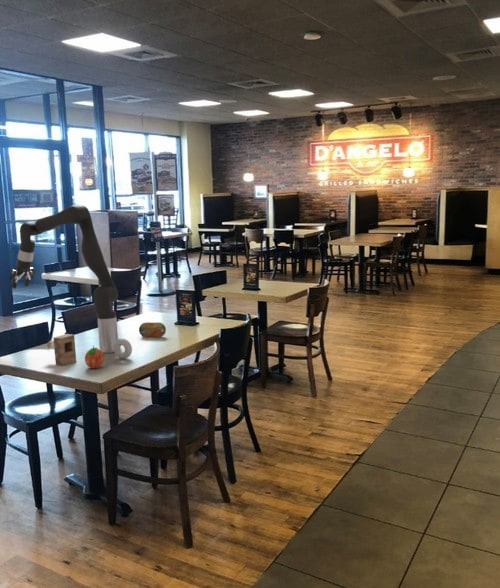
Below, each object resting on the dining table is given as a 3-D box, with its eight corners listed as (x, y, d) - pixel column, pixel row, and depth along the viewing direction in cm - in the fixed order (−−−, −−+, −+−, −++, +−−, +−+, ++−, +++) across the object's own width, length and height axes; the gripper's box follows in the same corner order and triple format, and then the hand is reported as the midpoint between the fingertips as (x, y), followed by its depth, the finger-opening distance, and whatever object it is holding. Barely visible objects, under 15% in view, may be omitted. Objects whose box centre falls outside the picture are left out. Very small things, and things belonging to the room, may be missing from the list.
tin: (139, 337, 322) (138, 322, 320) (141, 336, 325) (140, 321, 323) (164, 338, 318) (163, 323, 317) (166, 336, 321) (166, 321, 320)
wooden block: (55, 364, 272) (53, 337, 270) (68, 360, 279) (66, 333, 277) (63, 365, 270) (60, 338, 268) (76, 361, 277) (74, 334, 274)
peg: (47, 349, 276) (46, 341, 276) (54, 347, 280) (53, 339, 279) (60, 351, 272) (60, 343, 271) (67, 349, 275) (66, 341, 275)
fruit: (107, 364, 270) (106, 343, 268) (101, 370, 260) (99, 348, 258) (89, 365, 270) (87, 343, 268) (82, 371, 261) (80, 349, 259)
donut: (112, 358, 279) (111, 338, 278) (116, 357, 282) (115, 336, 281) (129, 360, 275) (128, 339, 274) (134, 358, 278) (132, 338, 277)
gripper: (19, 262, 300) (14, 291, 304) (40, 259, 312) (35, 287, 317) (9, 257, 302) (4, 286, 307) (30, 255, 315) (25, 282, 320)
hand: (20, 287), depth 312 cm, fingers open, 8 cm apart
